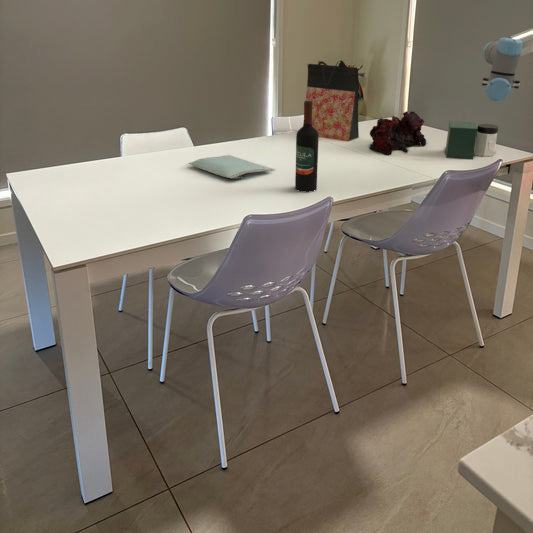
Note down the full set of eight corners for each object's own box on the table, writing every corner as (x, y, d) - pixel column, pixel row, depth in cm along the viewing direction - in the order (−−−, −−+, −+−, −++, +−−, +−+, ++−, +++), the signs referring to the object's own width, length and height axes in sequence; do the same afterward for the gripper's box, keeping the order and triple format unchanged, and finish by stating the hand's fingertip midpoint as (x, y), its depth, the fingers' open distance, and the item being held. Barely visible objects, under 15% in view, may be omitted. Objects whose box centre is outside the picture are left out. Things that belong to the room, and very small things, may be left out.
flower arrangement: (396, 157, 246) (400, 121, 240) (357, 149, 258) (359, 114, 252) (433, 144, 267) (437, 110, 261) (395, 137, 279) (398, 105, 273)
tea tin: (445, 150, 256) (449, 123, 251) (470, 151, 254) (474, 124, 249) (446, 157, 245) (450, 129, 240) (472, 159, 243) (477, 130, 238)
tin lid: (448, 122, 252) (449, 121, 252) (474, 124, 250) (475, 122, 250) (450, 129, 240) (450, 127, 240) (477, 130, 238) (477, 128, 238)
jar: (479, 157, 246) (483, 128, 241) (469, 152, 253) (473, 124, 248) (498, 155, 248) (503, 127, 243) (487, 151, 255) (492, 123, 250)
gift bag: (298, 135, 284) (300, 58, 269) (314, 129, 294) (317, 56, 279) (352, 143, 268) (357, 62, 253) (366, 137, 278) (372, 60, 263)
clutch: (228, 162, 245) (187, 166, 232) (228, 151, 243) (187, 155, 230) (272, 176, 225) (231, 182, 213) (273, 165, 224) (231, 170, 211)
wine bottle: (321, 189, 206) (324, 102, 194) (304, 193, 202) (306, 104, 190) (307, 184, 212) (310, 98, 199) (290, 187, 208) (292, 101, 195)
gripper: (478, 94, 208) (482, 87, 228) (517, 98, 204) (518, 90, 224) (482, 72, 205) (486, 67, 225) (522, 75, 201) (522, 70, 221)
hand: (502, 78), depth 224 cm, fingers closed
